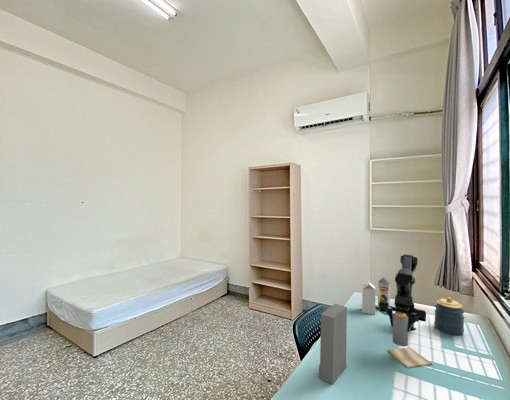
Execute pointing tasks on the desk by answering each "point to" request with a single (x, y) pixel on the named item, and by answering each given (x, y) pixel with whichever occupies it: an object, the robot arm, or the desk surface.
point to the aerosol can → (383, 290)
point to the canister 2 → (449, 316)
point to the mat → (409, 357)
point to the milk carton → (368, 298)
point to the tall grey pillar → (333, 343)
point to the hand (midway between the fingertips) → (400, 329)
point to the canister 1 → (400, 329)
